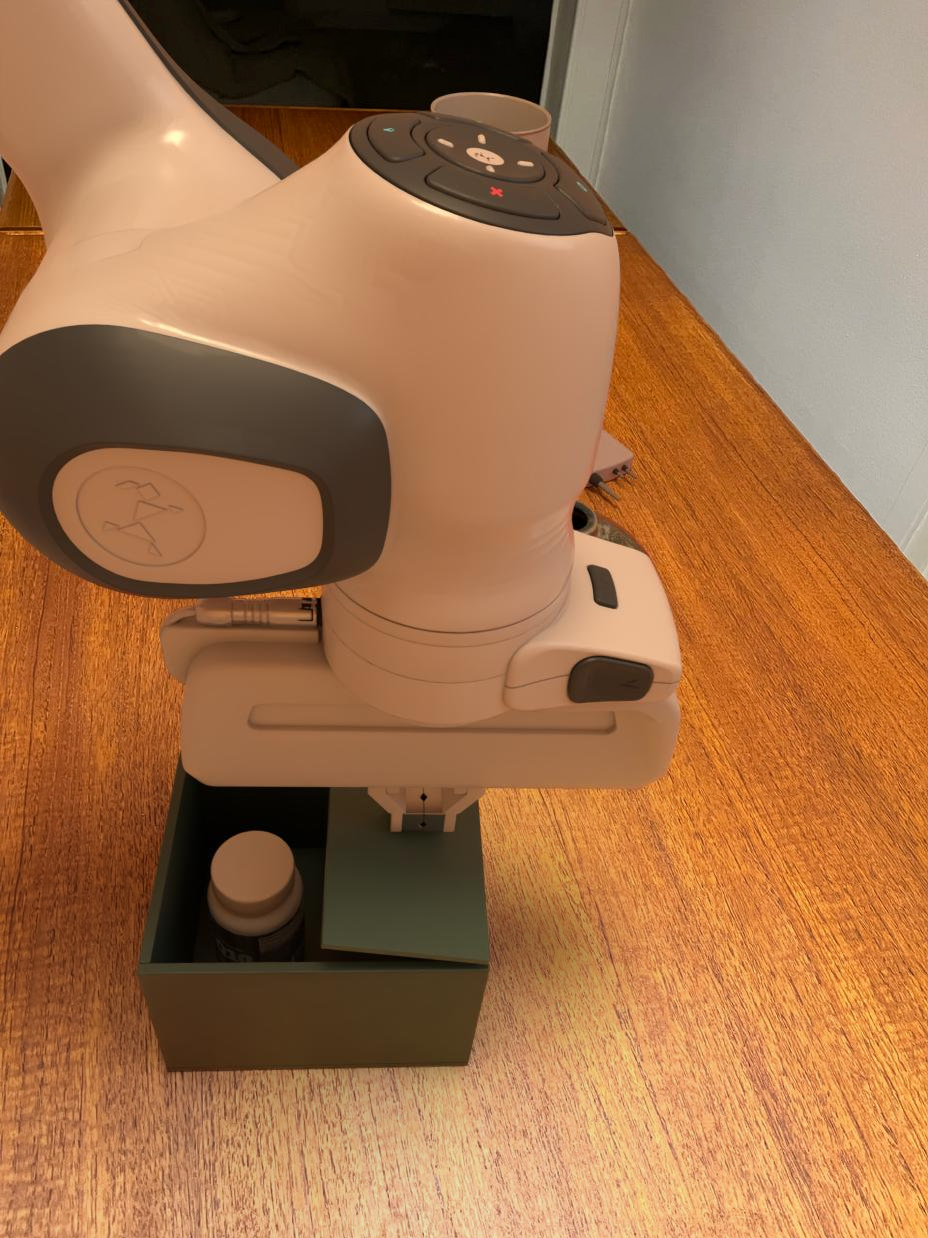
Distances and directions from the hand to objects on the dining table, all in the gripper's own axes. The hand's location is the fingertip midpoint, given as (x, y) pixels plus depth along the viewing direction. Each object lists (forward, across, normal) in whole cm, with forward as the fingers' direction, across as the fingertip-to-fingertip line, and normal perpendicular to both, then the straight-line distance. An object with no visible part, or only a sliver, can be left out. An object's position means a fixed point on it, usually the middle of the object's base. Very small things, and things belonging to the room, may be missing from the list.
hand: (421, 819), depth 45 cm
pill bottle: (+12, -8, 0) cm, 14 cm away
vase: (+13, +10, +22) cm, 27 cm away
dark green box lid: (+1, -1, 0) cm, 1 cm away
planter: (+12, +9, +86) cm, 87 cm away
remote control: (+13, +16, +48) cm, 52 cm away
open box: (+12, -5, 0) cm, 13 cm away
